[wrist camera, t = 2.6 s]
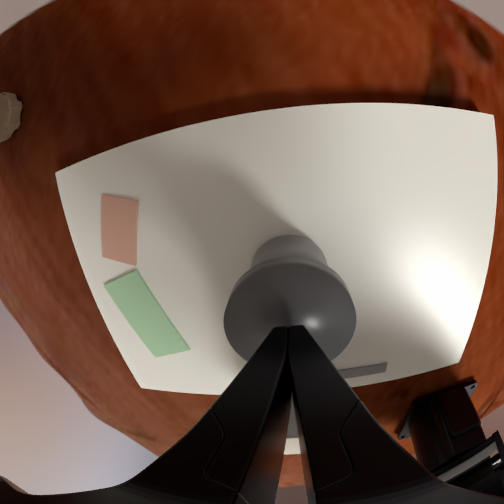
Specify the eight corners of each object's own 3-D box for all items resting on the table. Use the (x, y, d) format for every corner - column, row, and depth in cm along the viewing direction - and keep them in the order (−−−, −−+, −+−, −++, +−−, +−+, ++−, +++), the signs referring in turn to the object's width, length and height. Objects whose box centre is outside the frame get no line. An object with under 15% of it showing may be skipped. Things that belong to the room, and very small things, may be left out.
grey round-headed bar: (233, 231, 11) (209, 275, 7) (334, 219, 10) (358, 260, 7) (268, 402, 15) (263, 454, 12) (333, 398, 14) (338, 449, 11)
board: (453, 352, 14) (459, 363, 13) (145, 378, 17) (140, 389, 16) (482, 115, 8) (495, 115, 7) (66, 169, 12) (53, 173, 11)
